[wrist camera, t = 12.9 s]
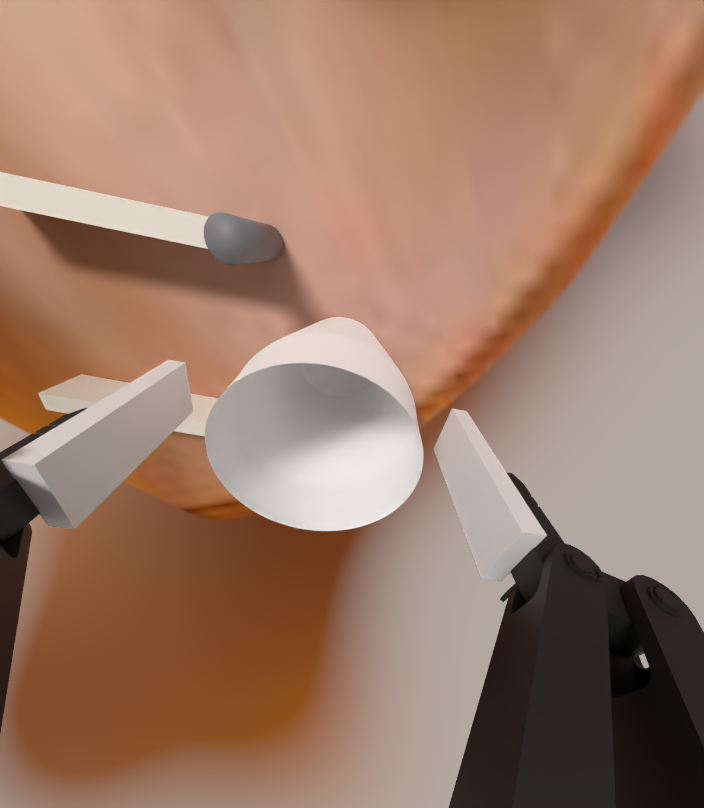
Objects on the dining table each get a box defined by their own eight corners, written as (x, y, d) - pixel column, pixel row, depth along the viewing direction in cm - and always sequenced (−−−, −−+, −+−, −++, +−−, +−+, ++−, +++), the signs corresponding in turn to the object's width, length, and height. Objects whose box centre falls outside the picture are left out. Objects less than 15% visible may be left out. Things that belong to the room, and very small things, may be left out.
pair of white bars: (88, 391, 23) (9, 431, 18) (1, 167, 16) (-178, 126, 10) (276, 424, 24) (252, 470, 19) (284, 228, 16) (247, 217, 11)
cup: (262, 328, 20) (148, 411, 9) (372, 277, 18) (380, 311, 7) (315, 420, 24) (277, 548, 14) (411, 387, 22) (452, 508, 11)
